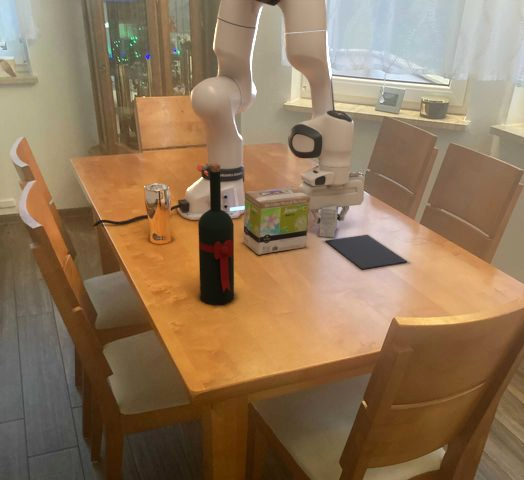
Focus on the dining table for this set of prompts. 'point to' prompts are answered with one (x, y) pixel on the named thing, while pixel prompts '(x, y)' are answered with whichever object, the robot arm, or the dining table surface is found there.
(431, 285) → the dining table surface
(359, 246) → the felt mat
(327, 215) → the medicine box
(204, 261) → the wine bottle
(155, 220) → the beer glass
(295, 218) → the tea box
